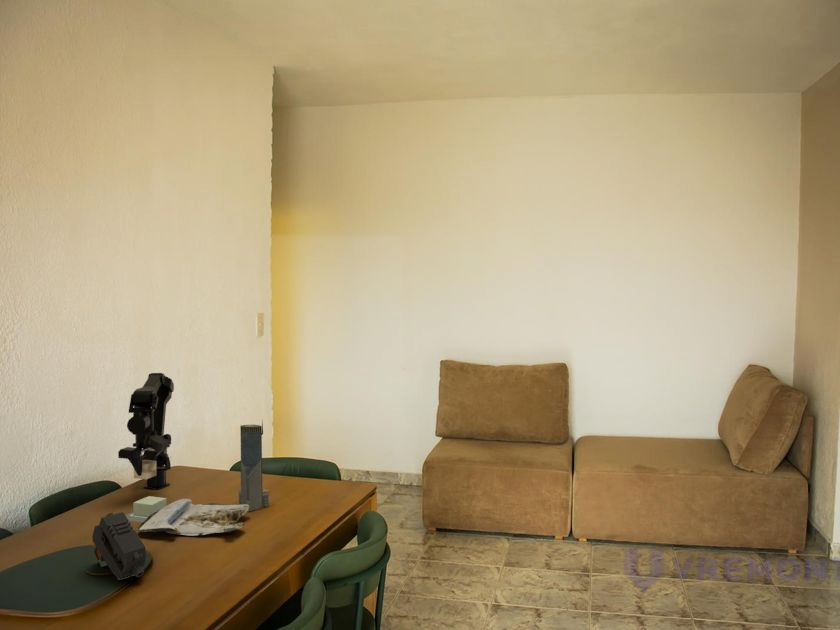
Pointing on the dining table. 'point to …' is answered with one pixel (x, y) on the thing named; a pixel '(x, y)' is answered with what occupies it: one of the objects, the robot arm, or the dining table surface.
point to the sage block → (148, 506)
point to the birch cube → (147, 470)
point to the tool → (119, 546)
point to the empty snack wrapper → (195, 518)
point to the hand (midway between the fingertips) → (145, 473)
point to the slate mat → (135, 518)
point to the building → (252, 468)
